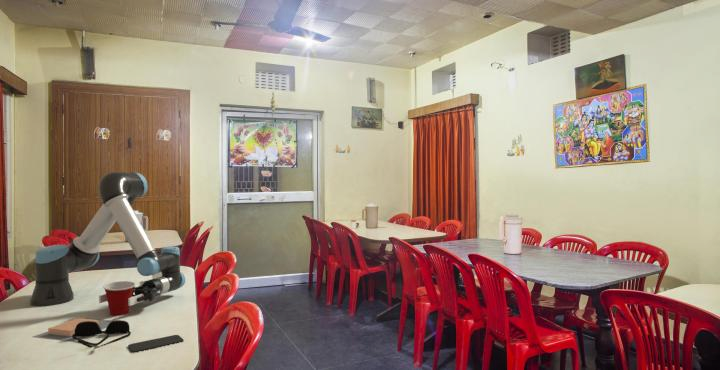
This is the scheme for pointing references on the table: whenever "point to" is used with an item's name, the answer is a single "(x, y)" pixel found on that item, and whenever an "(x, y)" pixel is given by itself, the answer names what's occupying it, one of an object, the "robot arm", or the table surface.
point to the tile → (67, 327)
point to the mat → (102, 324)
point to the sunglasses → (100, 331)
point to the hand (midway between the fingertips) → (114, 300)
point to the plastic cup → (119, 296)
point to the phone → (154, 343)
